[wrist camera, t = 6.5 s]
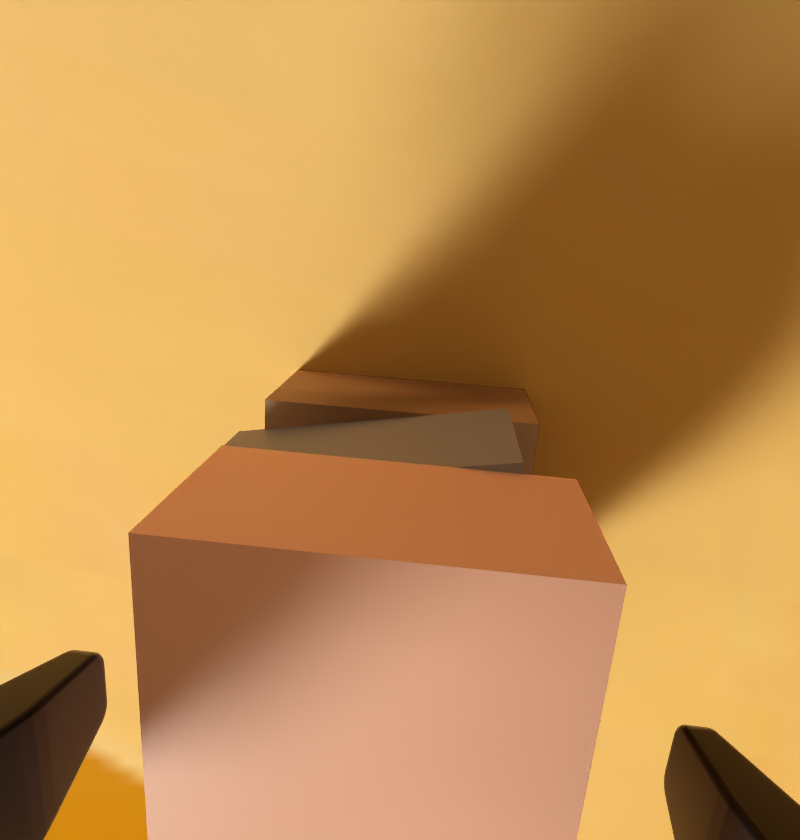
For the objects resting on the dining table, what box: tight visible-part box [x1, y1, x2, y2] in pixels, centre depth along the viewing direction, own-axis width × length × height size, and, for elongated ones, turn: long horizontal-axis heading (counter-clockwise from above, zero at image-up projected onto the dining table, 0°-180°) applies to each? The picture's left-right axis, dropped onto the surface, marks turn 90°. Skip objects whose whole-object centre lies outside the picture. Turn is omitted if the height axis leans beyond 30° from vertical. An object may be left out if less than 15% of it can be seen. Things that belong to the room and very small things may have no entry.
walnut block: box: [265, 370, 539, 475], centre depth 15 cm, size 6×6×3 cm
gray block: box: [224, 409, 524, 474], centre depth 12 cm, size 6×6×3 cm
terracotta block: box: [128, 445, 627, 840], centre depth 9 cm, size 6×6×3 cm
